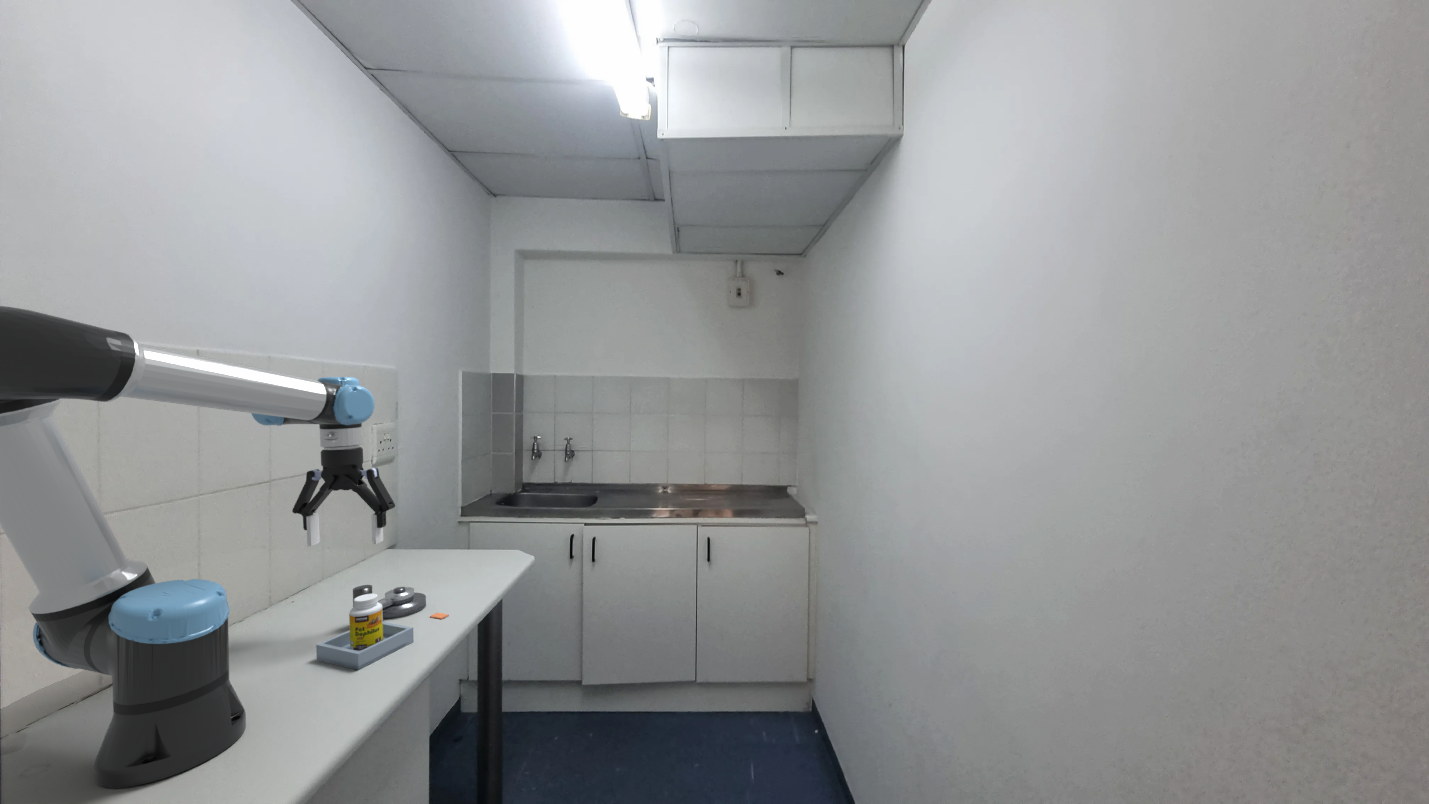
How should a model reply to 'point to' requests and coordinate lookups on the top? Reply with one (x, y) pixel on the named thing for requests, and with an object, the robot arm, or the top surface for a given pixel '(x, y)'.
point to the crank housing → (405, 607)
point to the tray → (342, 655)
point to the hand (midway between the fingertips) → (346, 543)
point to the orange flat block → (439, 615)
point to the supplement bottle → (365, 622)
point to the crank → (387, 595)
